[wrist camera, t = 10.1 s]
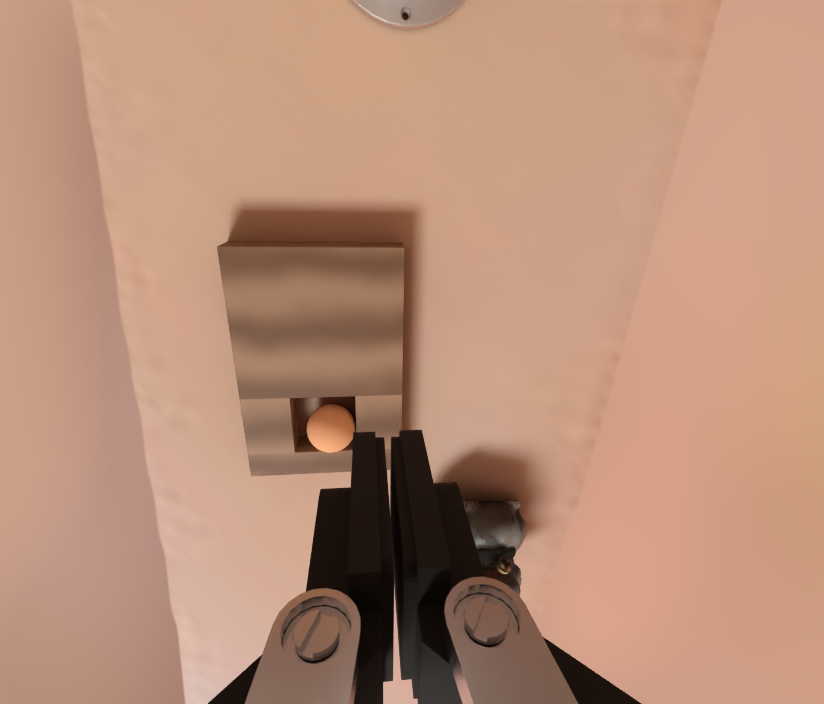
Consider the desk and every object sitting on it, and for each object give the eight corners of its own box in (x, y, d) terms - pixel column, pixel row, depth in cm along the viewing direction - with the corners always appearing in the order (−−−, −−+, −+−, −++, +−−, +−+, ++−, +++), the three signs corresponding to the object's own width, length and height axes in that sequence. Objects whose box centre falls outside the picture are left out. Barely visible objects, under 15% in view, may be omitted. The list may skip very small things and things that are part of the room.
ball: (298, 457, 44) (298, 413, 42) (317, 434, 48) (317, 394, 47) (346, 465, 43) (347, 419, 41) (360, 441, 48) (361, 400, 46)
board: (227, 241, 39) (217, 246, 36) (401, 242, 41) (404, 247, 38) (257, 458, 48) (251, 476, 45) (398, 452, 50) (400, 469, 47)
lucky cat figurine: (541, 502, 55) (578, 630, 47) (475, 530, 62) (497, 645, 54) (457, 484, 47) (482, 635, 39) (392, 518, 54) (402, 652, 46)
